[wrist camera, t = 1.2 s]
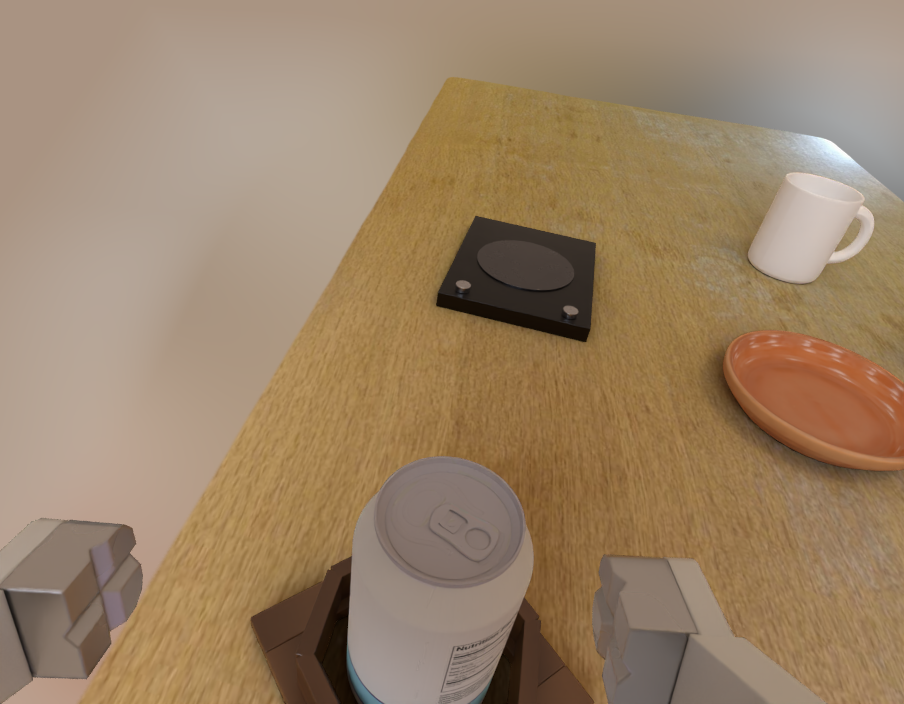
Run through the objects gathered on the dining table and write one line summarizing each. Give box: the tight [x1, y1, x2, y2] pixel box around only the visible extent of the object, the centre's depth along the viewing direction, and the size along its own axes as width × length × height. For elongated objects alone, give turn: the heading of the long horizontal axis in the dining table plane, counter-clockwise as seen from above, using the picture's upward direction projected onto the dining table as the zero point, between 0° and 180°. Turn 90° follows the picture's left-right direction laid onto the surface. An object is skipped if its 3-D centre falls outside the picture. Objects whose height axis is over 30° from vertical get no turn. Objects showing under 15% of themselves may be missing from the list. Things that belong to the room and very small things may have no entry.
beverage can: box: [346, 456, 534, 704], centre depth 25 cm, size 7×7×12 cm
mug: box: [748, 173, 874, 284], centre depth 68 cm, size 12×8×10 cm
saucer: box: [723, 330, 904, 471], centre depth 48 cm, size 16×16×3 cm
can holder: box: [251, 556, 594, 704], centre depth 28 cm, size 12×12×3 cm
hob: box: [436, 216, 596, 342], centre depth 60 cm, size 18×14×2 cm
